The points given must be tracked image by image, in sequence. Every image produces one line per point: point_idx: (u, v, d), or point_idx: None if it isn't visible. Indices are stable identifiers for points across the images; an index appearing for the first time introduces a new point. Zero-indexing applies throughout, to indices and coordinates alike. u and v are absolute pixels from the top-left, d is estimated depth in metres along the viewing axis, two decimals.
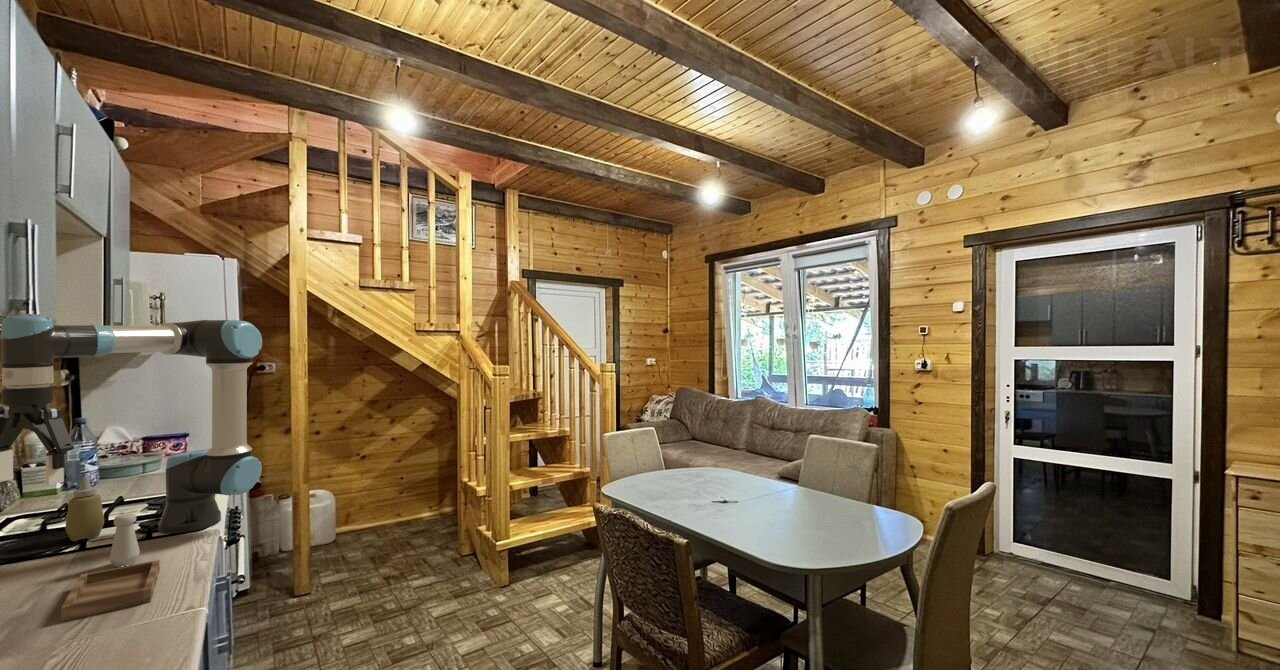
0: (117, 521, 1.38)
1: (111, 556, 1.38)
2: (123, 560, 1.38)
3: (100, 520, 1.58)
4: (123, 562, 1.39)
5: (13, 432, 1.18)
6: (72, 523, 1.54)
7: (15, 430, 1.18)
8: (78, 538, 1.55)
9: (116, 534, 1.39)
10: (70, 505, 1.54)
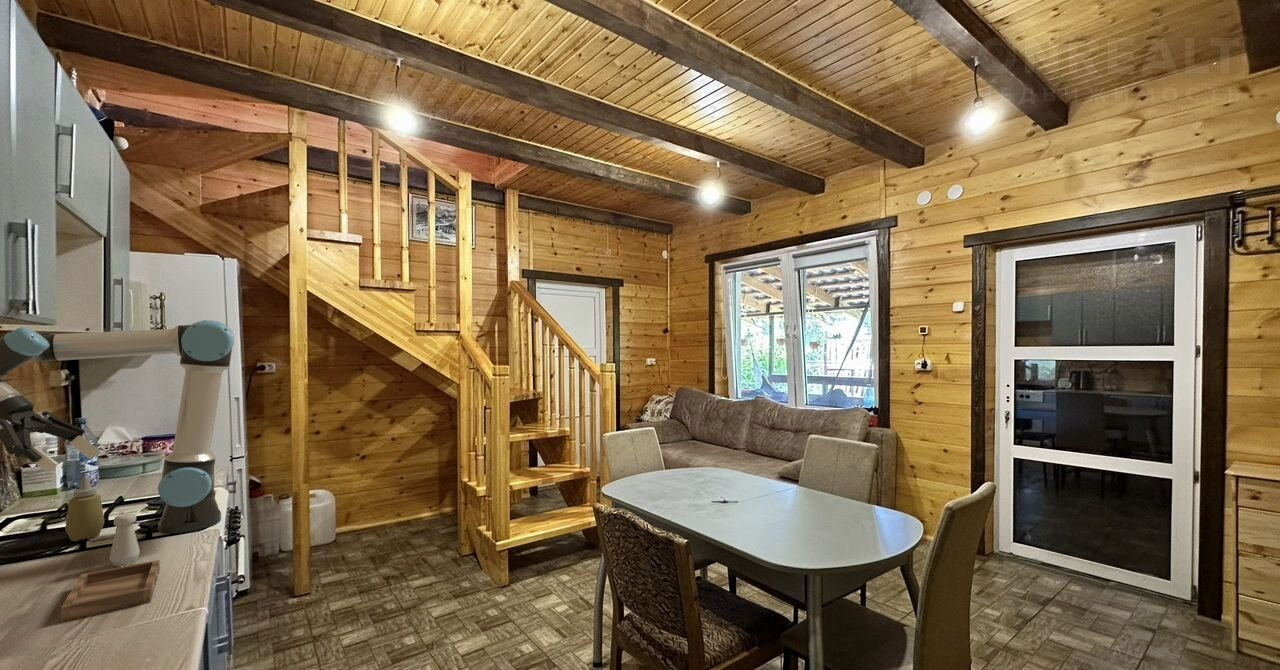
0: (117, 521, 1.38)
1: (111, 556, 1.38)
2: (123, 560, 1.38)
3: (100, 520, 1.58)
4: (123, 562, 1.39)
5: (50, 430, 1.40)
6: (72, 523, 1.54)
7: (48, 429, 1.39)
8: (78, 538, 1.55)
9: (116, 534, 1.39)
10: (70, 505, 1.54)
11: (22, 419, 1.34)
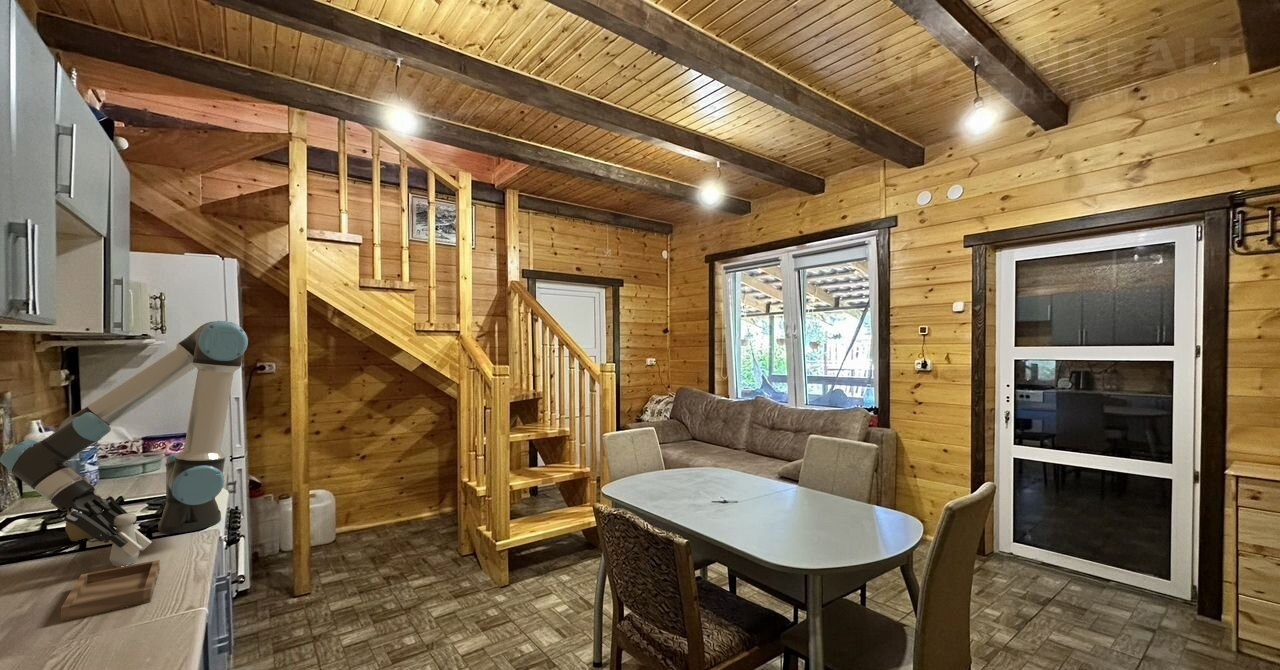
0: (117, 521, 1.38)
1: (111, 556, 1.38)
2: (123, 560, 1.38)
3: None
4: (123, 562, 1.39)
5: (106, 517, 1.41)
6: None
7: (104, 515, 1.41)
8: (78, 538, 1.55)
9: None
10: None
11: (87, 505, 1.37)
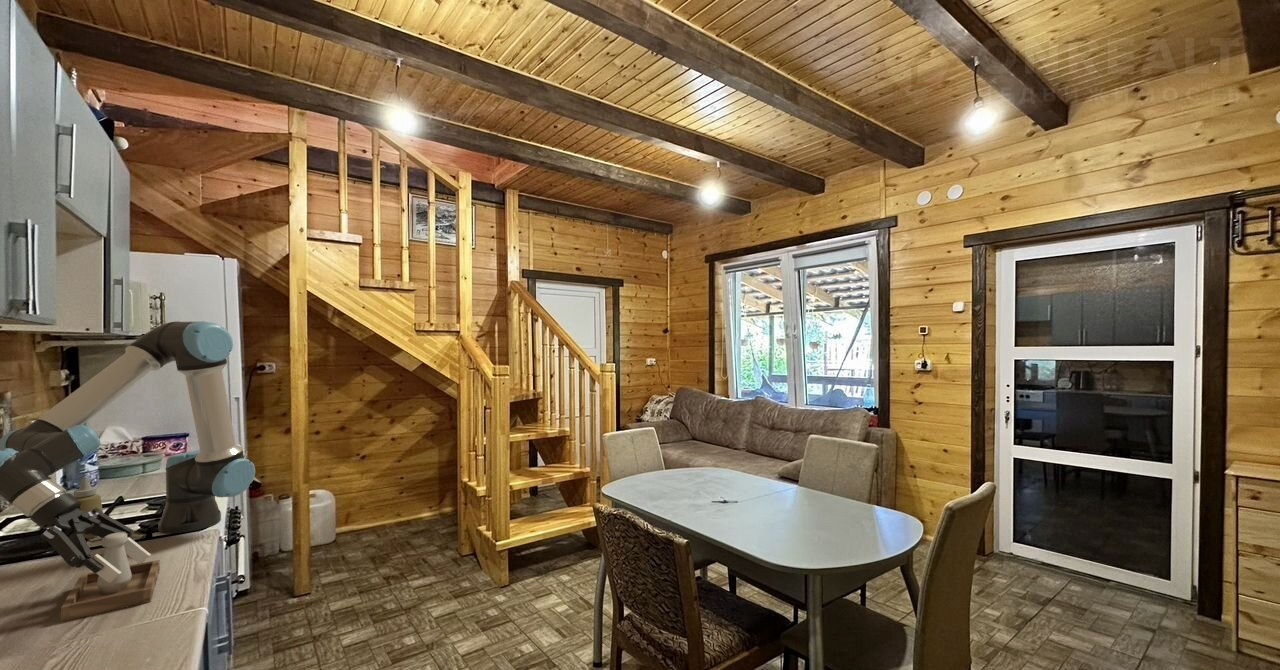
0: (105, 542, 1.23)
1: (99, 582, 1.22)
2: (112, 586, 1.23)
3: None
4: (112, 588, 1.23)
5: (97, 531, 1.26)
6: None
7: (95, 530, 1.26)
8: None
9: (105, 557, 1.23)
10: None
11: (71, 522, 1.21)
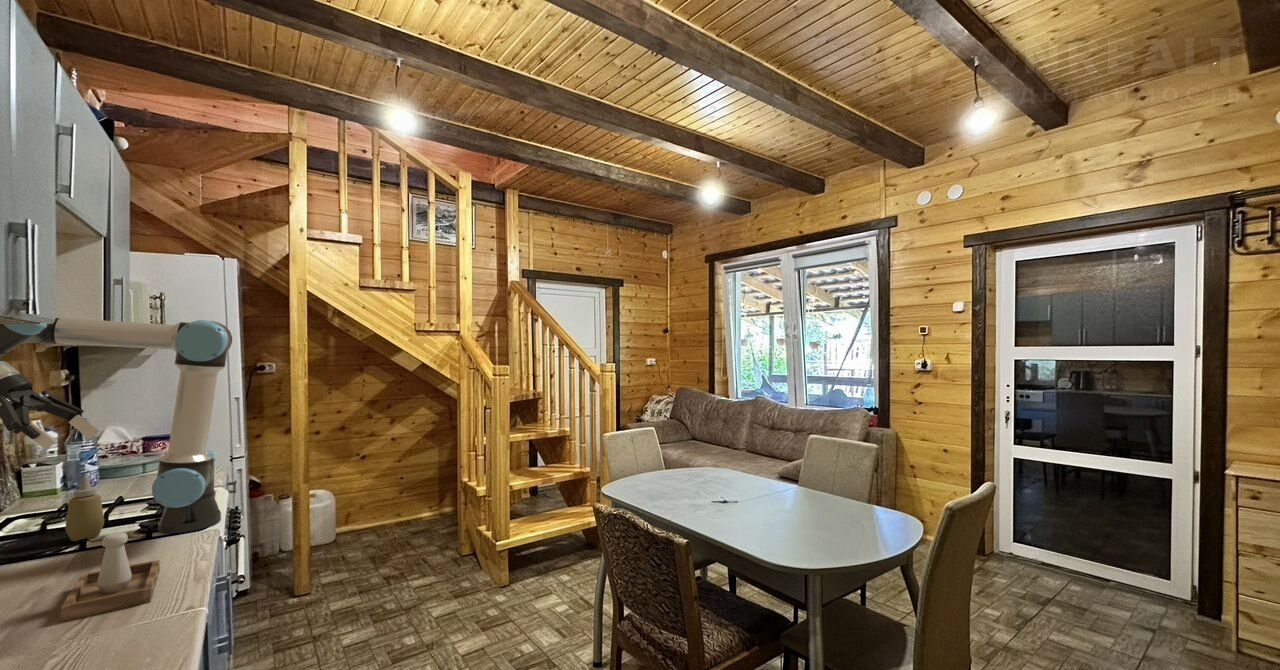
0: (105, 542, 1.23)
1: (99, 582, 1.22)
2: (112, 586, 1.23)
3: (100, 520, 1.58)
4: (112, 588, 1.23)
5: (49, 409, 1.42)
6: (72, 523, 1.54)
7: (47, 408, 1.41)
8: (78, 538, 1.55)
9: (105, 556, 1.23)
10: (70, 505, 1.54)
11: (22, 397, 1.36)
